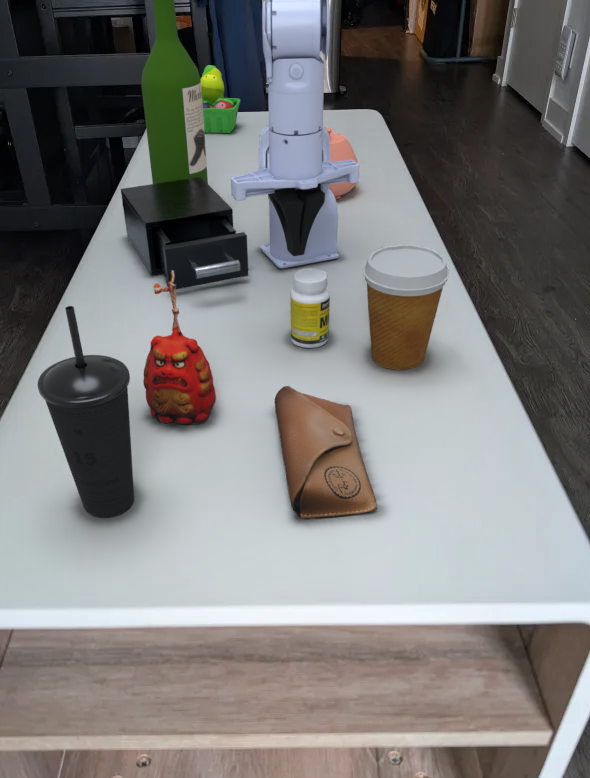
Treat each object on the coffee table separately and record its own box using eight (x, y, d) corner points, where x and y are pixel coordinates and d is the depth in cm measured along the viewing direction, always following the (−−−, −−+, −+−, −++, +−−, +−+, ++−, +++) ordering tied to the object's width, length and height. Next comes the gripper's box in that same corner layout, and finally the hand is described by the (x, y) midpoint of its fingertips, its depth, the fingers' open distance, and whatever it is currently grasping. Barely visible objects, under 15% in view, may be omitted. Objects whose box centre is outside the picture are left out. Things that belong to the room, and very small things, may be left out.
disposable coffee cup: (444, 343, 97) (457, 248, 89) (429, 383, 91) (442, 283, 83) (368, 332, 100) (374, 238, 92) (348, 370, 93) (353, 272, 85)
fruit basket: (181, 134, 164) (175, 73, 157) (191, 121, 171) (186, 62, 163) (235, 135, 163) (232, 74, 155) (243, 123, 169) (241, 63, 162)
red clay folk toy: (141, 426, 85) (121, 296, 75) (157, 391, 90) (140, 265, 81) (211, 431, 84) (200, 299, 74) (223, 395, 89) (214, 268, 80)
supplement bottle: (325, 350, 97) (327, 285, 91) (287, 347, 97) (286, 282, 92) (331, 331, 100) (333, 267, 95) (294, 328, 101) (294, 265, 95)
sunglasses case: (384, 509, 73) (350, 462, 69) (318, 542, 75) (282, 499, 71) (350, 402, 87) (320, 358, 83) (295, 433, 89) (263, 391, 85)
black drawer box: (235, 260, 117) (232, 208, 112) (151, 275, 113) (145, 223, 108) (204, 225, 127) (201, 176, 122) (127, 238, 124) (120, 188, 119)
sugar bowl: (355, 205, 132) (358, 140, 126) (272, 202, 134) (271, 138, 127) (361, 180, 141) (364, 118, 135) (283, 177, 143) (282, 116, 136)
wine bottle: (197, 223, 128) (177, -18, 106) (147, 217, 130) (117, -20, 109) (218, 203, 134) (203, -28, 113) (169, 198, 136) (146, -30, 115)
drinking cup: (72, 479, 79) (27, 289, 65) (149, 473, 79) (121, 284, 66) (63, 530, 73) (12, 334, 60) (147, 525, 73) (115, 328, 60)
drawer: (260, 289, 107) (259, 248, 104) (179, 305, 104) (175, 263, 101) (217, 240, 120) (215, 201, 116) (144, 253, 117) (139, 213, 113)
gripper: (243, 147, 79) (249, 276, 88) (374, 129, 83) (366, 254, 92) (221, 128, 84) (228, 252, 93) (345, 112, 88) (341, 233, 97)
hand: (295, 252), depth 93 cm, fingers closed
